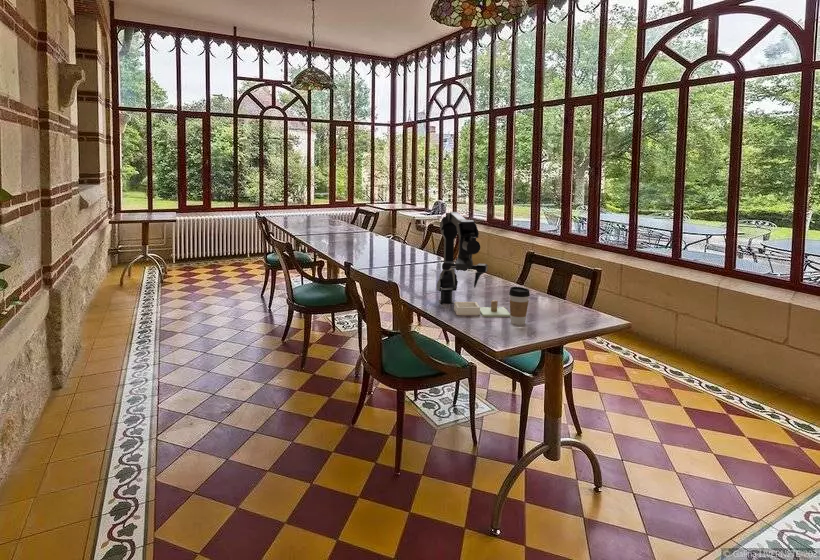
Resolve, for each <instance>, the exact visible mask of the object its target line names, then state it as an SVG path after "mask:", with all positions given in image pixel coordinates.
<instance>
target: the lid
mask: <svg viewBox="0 0 820 560" xmlns="http://www.w3.org/2000/svg"><path fill="white" fill-rule="evenodd" d="M480 316H482V317H483V318H497V317H498V318H510V311H508V310H507V309H506V308H505V307H502V306H501V307H500V306H499V307H498V300H496V299H494V300H491V302H490V307H487V306H486V307H485V306H484V307H481V306H480Z"/></svg>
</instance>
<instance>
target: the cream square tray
mask: <svg viewBox="0 0 820 560" xmlns="http://www.w3.org/2000/svg"><path fill="white" fill-rule="evenodd" d="M453 303H454V304H453V310H454V312H455V314H456V316H460V317H461V316H475V317H477V316H478V317H479V316H481V313H480V307H481V306H480V305H479V304H478V302H477V301H453Z"/></svg>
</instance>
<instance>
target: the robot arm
mask: <svg viewBox="0 0 820 560" xmlns="http://www.w3.org/2000/svg"><path fill="white" fill-rule="evenodd" d="M439 230H440V234H441V236H442V237H443V263H442V264H441V272H440V274H439V278H438V281H437V283H436V290H437V291H438V292H440V295H439V296H440V299H438V302H439V304H440V305H445V304H447V305H449V304H450V305H454V301H453V292H457V290H458V289H457V288H458V283H459V280H458V278H457V274H456V273H455V272H456V271H462V272H466V271H467V272H468V270H475V271H476V272H475V273H474V275H475V276H474V282H473V288H474V289H475V288H476V287H477V285H478V282H479V280H480V277H481V276H482V275H483V274H485V273H487V272H488V271H489V270H488V269H489V265H488V264H487V263H478V264H474V260H473V255H476V254H478V253H479V252H480V250H481V245H480V241H478V240H477V238H479V234H480V233H479V229H478V226H477V224H476V222H475V221H474V220H473V219H466V218H465V217H464V216H463V215H461V213H460V212H459V211H449V212H448V213H447V215H446V216H444V217H442V219H441V220H440V223H439ZM457 235H458V254H457V257H456V260H455V262H454V255H455V254H454V253H455V252H454V251H455V250H454V249H455V239H456V237H457ZM455 270H456V271H455Z"/></svg>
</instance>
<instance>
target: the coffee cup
mask: <svg viewBox="0 0 820 560" xmlns="http://www.w3.org/2000/svg"><path fill="white" fill-rule="evenodd" d="M508 294H509V313H510V317H509V318H510V324H512V325H517V326H519V325H520V326H521V325H522V326H523V325H525V324H526V319H527V313H528V307H529V297H530V294H531V293H530V290H529V289H528V288H526V287H521V286H511V287H509V292H508Z"/></svg>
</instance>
